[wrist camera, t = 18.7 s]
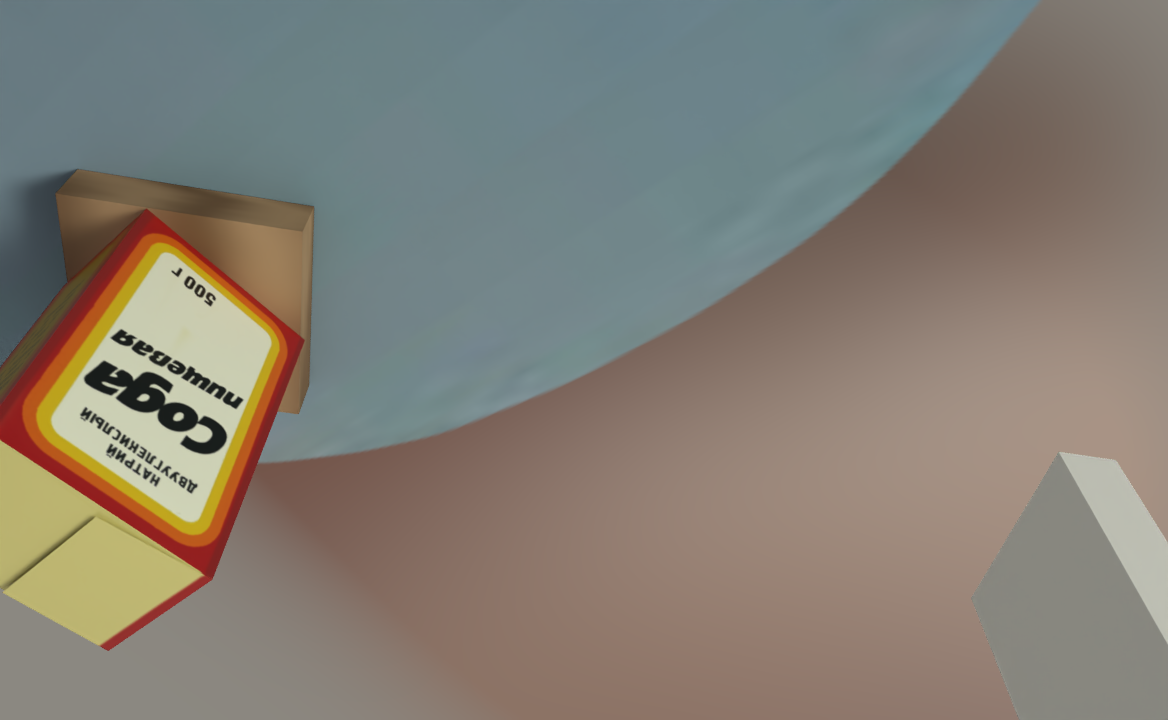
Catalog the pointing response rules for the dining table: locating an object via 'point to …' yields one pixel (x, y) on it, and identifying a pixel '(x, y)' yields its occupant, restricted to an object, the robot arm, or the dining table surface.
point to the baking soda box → (133, 432)
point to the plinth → (206, 242)
